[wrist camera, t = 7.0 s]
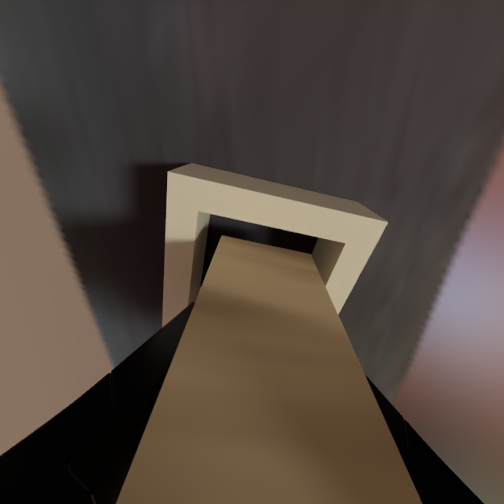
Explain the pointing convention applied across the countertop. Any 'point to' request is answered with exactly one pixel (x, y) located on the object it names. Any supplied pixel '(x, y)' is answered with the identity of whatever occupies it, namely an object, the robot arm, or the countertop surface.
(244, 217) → the cream square ring
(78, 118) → the countertop surface
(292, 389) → the wooden peg
